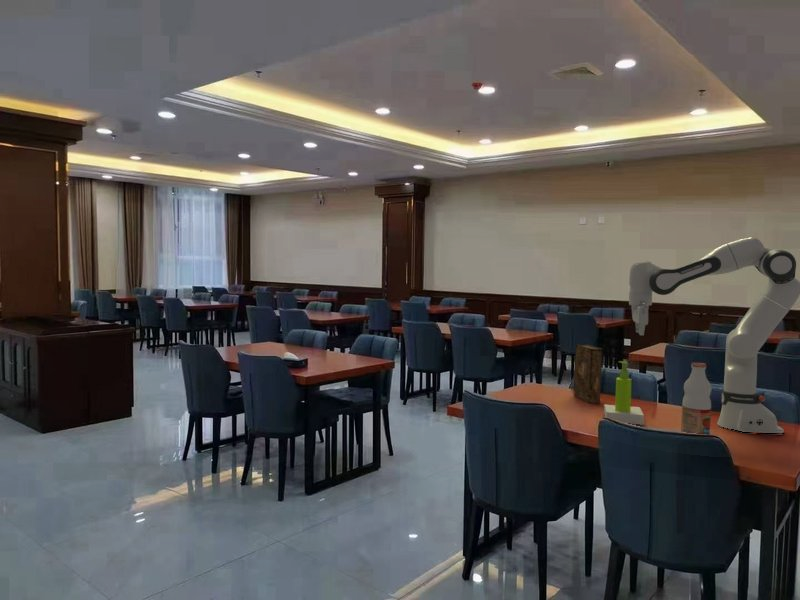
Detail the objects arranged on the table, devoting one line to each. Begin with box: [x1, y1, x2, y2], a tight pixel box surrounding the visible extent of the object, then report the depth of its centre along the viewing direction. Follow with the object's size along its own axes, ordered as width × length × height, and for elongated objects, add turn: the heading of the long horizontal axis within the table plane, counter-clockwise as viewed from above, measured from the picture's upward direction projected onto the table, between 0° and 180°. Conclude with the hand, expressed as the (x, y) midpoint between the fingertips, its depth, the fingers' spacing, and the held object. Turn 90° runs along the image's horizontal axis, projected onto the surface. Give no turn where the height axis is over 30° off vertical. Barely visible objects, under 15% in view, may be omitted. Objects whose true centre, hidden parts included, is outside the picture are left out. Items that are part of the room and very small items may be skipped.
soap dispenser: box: [614, 360, 632, 412], centre depth 242 cm, size 6×7×20 cm
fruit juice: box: [680, 361, 712, 435], centre depth 217 cm, size 9×9×28 cm
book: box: [573, 344, 603, 404], centre depth 278 cm, size 16×6×25 cm, turn 10°
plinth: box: [603, 403, 645, 426], centre depth 244 cm, size 14×14×4 cm
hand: (639, 334), depth 246 cm, fingers open, 8 cm apart
